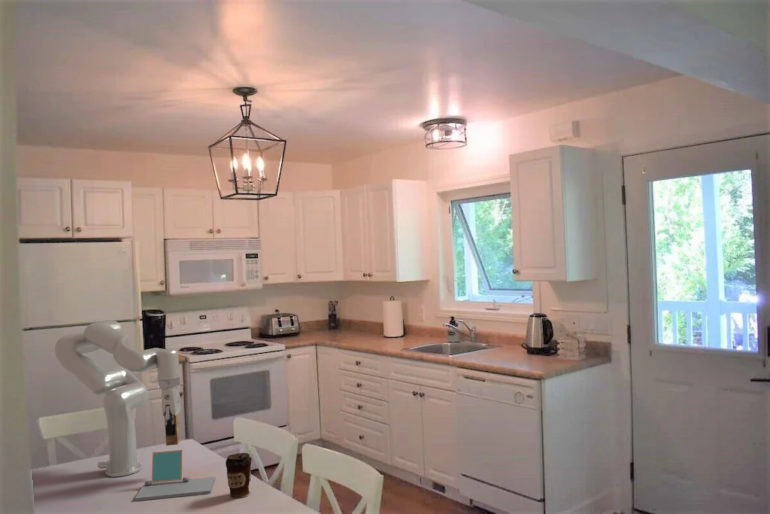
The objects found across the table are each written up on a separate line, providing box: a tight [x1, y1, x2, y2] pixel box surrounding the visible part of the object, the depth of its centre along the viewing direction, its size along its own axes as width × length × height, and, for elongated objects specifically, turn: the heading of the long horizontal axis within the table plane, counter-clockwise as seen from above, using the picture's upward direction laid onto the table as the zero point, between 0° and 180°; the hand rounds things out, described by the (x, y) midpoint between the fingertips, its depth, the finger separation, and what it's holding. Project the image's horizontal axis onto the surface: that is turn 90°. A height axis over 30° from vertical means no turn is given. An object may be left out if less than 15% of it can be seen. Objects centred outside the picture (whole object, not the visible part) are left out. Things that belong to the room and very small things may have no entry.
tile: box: [151, 449, 184, 483], centre depth 215 cm, size 10×10×1 cm
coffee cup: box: [225, 452, 253, 499], centre depth 202 cm, size 9×8×13 cm
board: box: [134, 476, 217, 502], centre depth 210 cm, size 24×13×2 cm, turn 98°
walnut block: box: [163, 413, 181, 446], centre depth 224 cm, size 4×4×12 cm
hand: (172, 432), depth 224 cm, fingers closed on walnut block, 4 cm apart
